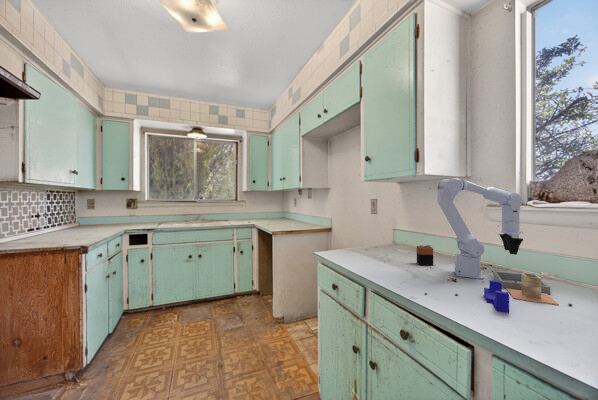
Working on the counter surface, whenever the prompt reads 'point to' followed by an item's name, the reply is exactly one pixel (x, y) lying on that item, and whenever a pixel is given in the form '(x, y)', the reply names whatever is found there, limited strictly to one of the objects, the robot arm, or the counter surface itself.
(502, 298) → the cable clip
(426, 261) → the battery
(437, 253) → the counter surface
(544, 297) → the place mat
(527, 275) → the part block
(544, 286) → the parts tray
